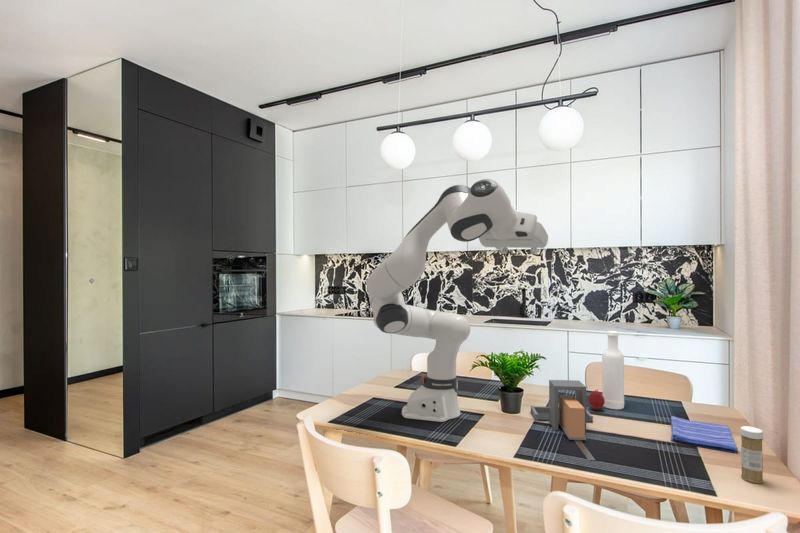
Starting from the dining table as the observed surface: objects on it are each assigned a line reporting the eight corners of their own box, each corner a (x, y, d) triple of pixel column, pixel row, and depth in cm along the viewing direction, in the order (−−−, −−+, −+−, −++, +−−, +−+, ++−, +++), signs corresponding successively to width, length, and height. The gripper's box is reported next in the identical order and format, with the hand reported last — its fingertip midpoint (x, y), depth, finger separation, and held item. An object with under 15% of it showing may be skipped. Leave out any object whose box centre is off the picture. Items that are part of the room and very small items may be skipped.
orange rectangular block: (569, 439, 137) (569, 408, 137) (558, 423, 151) (557, 394, 151) (586, 440, 137) (585, 408, 137) (573, 423, 151) (573, 395, 151)
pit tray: (535, 420, 155) (535, 414, 155) (530, 412, 164) (530, 406, 164) (592, 422, 152) (592, 416, 152) (584, 414, 161) (584, 407, 161)
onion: (606, 412, 163) (606, 392, 163) (590, 411, 164) (590, 391, 164) (602, 407, 168) (602, 387, 168) (586, 406, 169) (586, 386, 169)
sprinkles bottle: (762, 479, 112) (762, 428, 112) (763, 486, 109) (763, 433, 109) (740, 473, 115) (740, 424, 115) (740, 480, 111) (740, 429, 111)
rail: (588, 460, 123) (588, 459, 123) (561, 422, 153) (561, 421, 153) (595, 460, 123) (595, 460, 123) (567, 422, 153) (567, 421, 153)
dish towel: (670, 444, 136) (670, 435, 136) (670, 420, 156) (670, 413, 156) (739, 456, 126) (739, 447, 126) (729, 430, 147) (729, 421, 147)
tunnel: (554, 430, 146) (554, 386, 146) (549, 421, 154) (549, 379, 154) (586, 431, 144) (586, 387, 144) (579, 422, 152) (579, 380, 152)
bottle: (617, 411, 164) (617, 333, 164) (598, 405, 171) (598, 331, 171) (628, 406, 169) (627, 331, 169) (608, 401, 176) (608, 329, 175)
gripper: (468, 233, 126) (486, 259, 135) (535, 232, 113) (550, 261, 122) (475, 216, 129) (491, 243, 138) (541, 214, 116) (555, 244, 125)
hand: (519, 252), depth 130 cm, fingers open, 8 cm apart
